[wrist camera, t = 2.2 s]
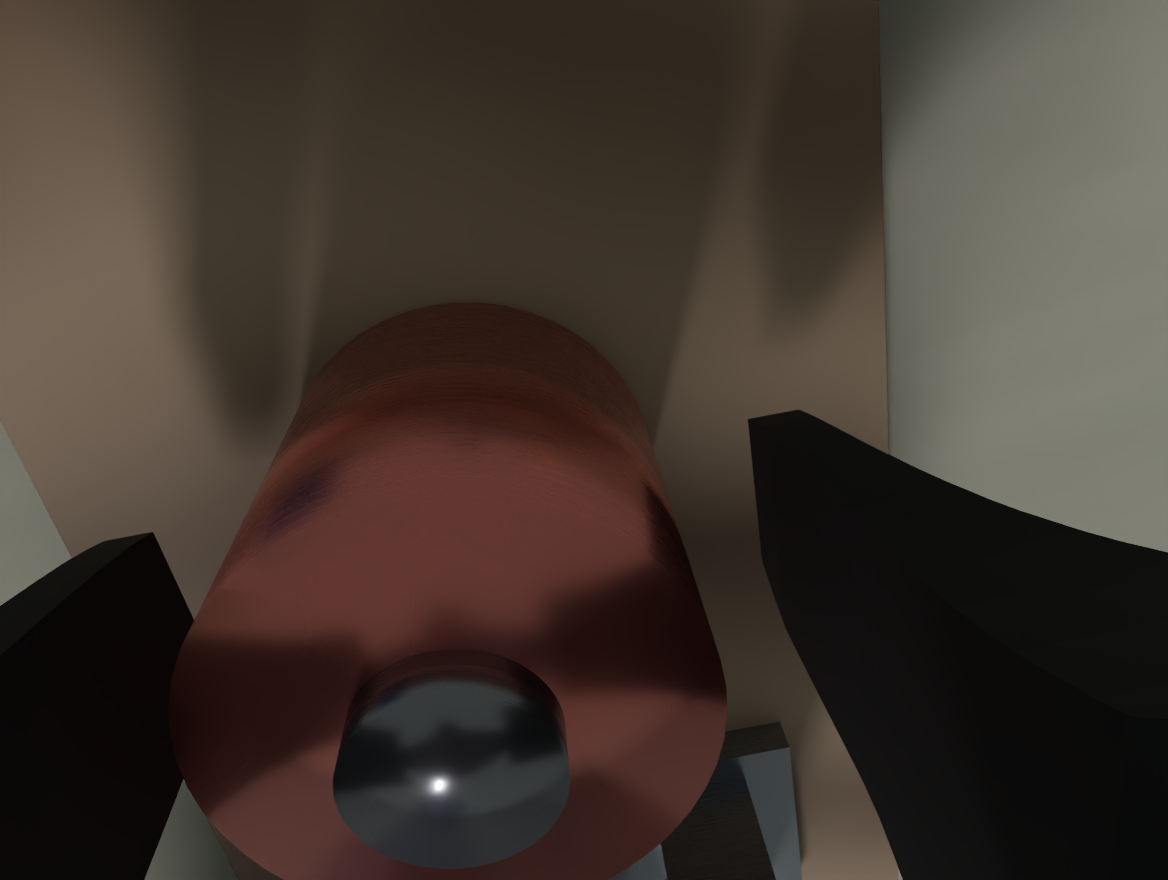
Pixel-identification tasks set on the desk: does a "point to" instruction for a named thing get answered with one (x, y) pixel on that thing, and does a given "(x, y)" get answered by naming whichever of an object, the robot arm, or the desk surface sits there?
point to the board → (447, 261)
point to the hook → (454, 622)
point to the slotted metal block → (735, 818)
